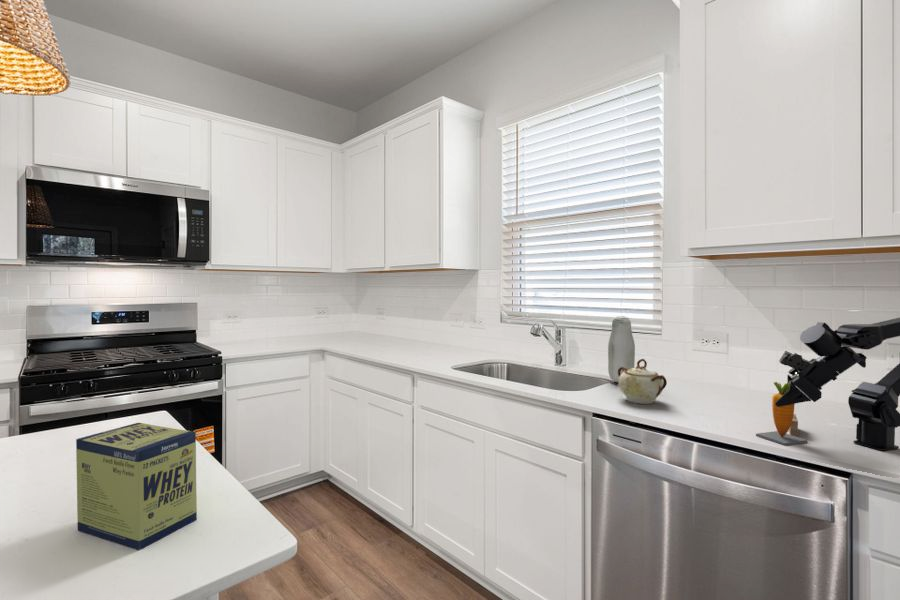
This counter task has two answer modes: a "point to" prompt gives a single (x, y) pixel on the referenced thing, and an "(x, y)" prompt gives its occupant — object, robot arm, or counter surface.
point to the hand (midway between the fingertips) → (775, 402)
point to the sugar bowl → (641, 384)
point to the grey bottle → (620, 347)
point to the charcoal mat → (781, 438)
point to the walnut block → (794, 426)
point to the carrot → (782, 410)
